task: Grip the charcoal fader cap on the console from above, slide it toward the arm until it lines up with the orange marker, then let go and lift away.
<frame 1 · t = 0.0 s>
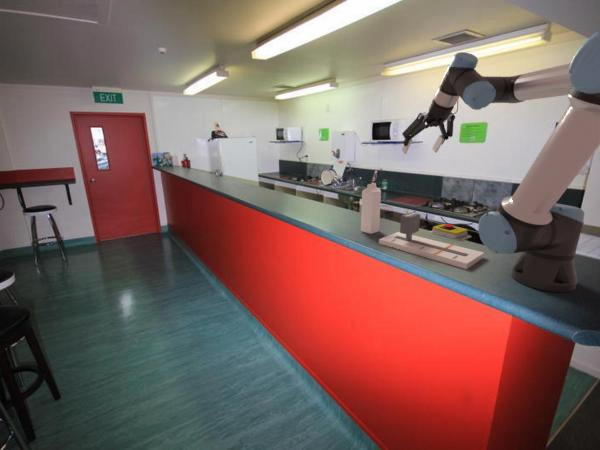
hand: (419, 151, 122), 36 cm above the countertop, tool tilted 35°, fingers open, 13 cm apart
emergency button: (449, 235, 133), on the countertop
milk: (369, 231, 140), on the countertop
console: (427, 250, 115), on the countertop
fader: (409, 227, 119), point 8 cm above the countertop, slide at 20.0 cm
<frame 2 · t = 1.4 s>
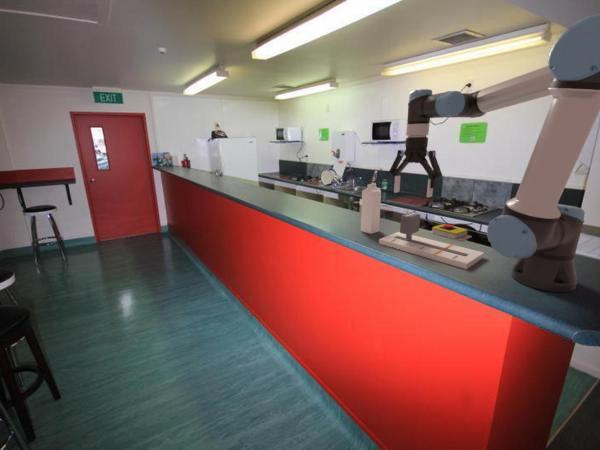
hand: (412, 194, 115), 20 cm above the countertop, tool pointing down, fingers open, 13 cm apart
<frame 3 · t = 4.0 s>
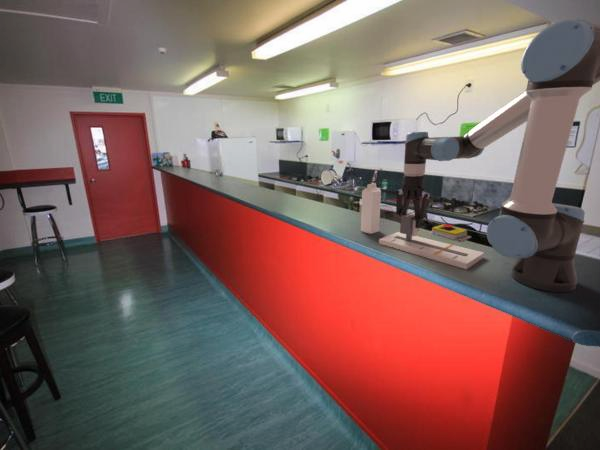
hand: (409, 234, 119), 5 cm above the countertop, tool pointing down, fingers closed on fader, 4 cm apart
fader: (409, 227, 119), point 8 cm above the countertop, slide at 20.0 cm, touching gripper
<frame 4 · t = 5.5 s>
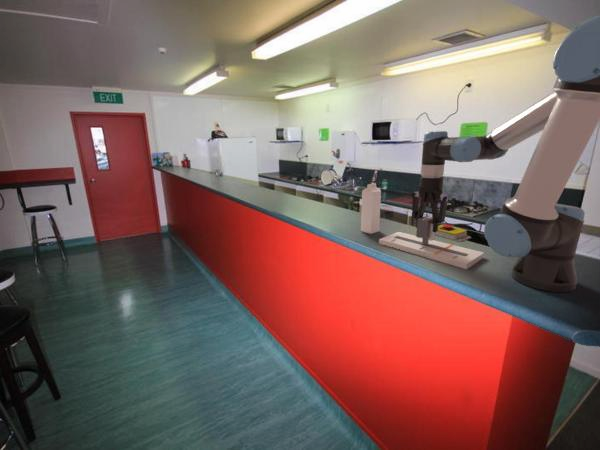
hand: (425, 238, 114), 5 cm above the countertop, tool pointing down, fingers closed on fader, 4 cm apart
fader: (426, 230, 114), point 8 cm above the countertop, slide at 13.1 cm, touching gripper
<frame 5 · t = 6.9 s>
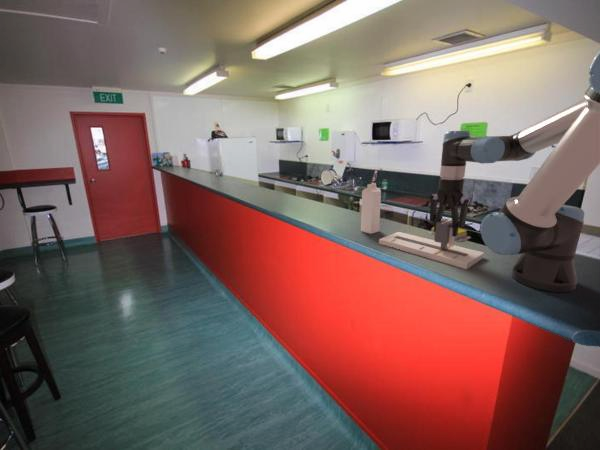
hand: (444, 242, 109), 5 cm above the countertop, tool pointing down, fingers closed on fader, 4 cm apart
fader: (445, 234, 108), point 8 cm above the countertop, slide at 6.0 cm, touching gripper
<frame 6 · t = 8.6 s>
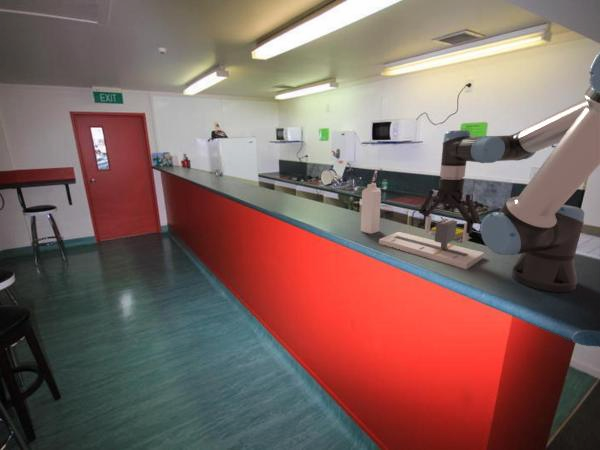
hand: (445, 237, 108), 7 cm above the countertop, tool pointing down, fingers open, 13 cm apart
fader: (445, 235, 108), point 8 cm above the countertop, slide at 6.0 cm
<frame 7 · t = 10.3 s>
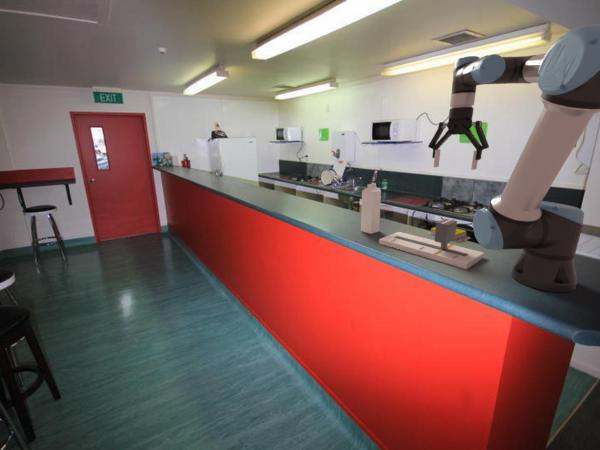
hand: (454, 168, 112), 30 cm above the countertop, tool pointing down, fingers open, 13 cm apart
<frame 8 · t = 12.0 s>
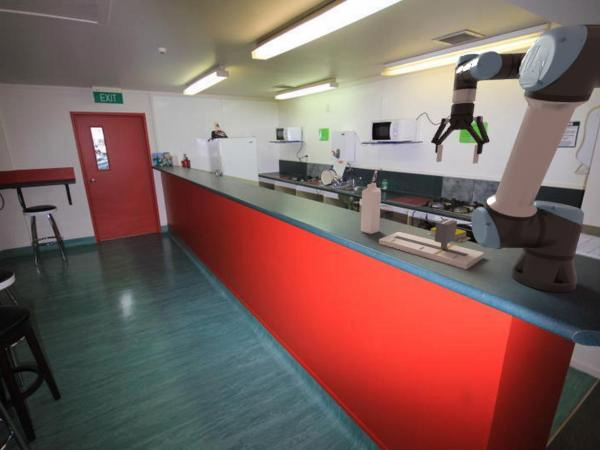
hand: (456, 162, 116), 32 cm above the countertop, tool pointing down, fingers open, 13 cm apart
at the end: fader slide at 6.0 cm; the gripper is holding nothing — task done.
